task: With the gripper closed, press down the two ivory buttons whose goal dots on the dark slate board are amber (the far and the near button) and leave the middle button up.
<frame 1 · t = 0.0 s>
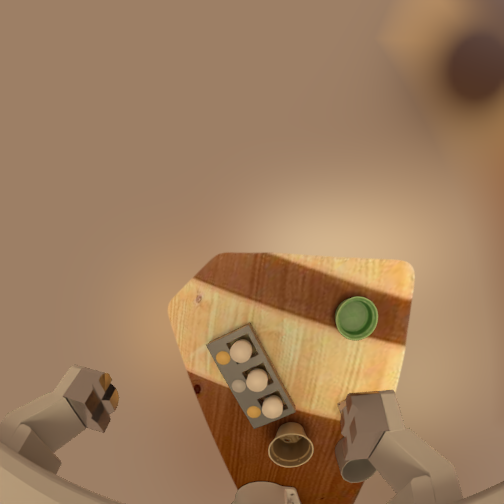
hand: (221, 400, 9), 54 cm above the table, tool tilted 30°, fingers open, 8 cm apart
flower pot: (290, 431, 60), on the table
button a: (272, 406, 57), point 4 cm above the table, slide at 0.0 cm
walkman: (348, 412, 59), on the table
cup: (351, 447, 58), on the table
ramekin: (352, 315, 61), on the table
board: (252, 376, 62), on the table
button c: (241, 350, 58), point 4 cm above the table, slide at 0.0 cm
button b: (257, 379, 57), point 4 cm above the table, slide at 0.0 cm
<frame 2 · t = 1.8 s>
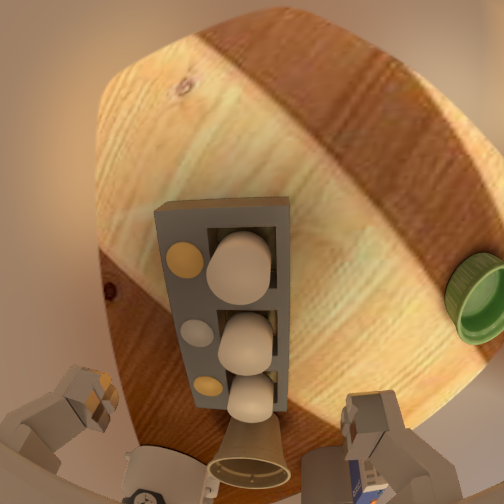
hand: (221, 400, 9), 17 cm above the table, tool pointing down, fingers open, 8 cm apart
flower pot: (254, 418, 35), on the table
button a: (251, 397, 27), point 4 cm above the table, slide at 0.0 cm
walkman: (358, 423, 34), on the table
cup: (327, 457, 38), on the table
ramekin: (472, 285, 25), on the table
board: (235, 314, 28), on the table
button c: (240, 266, 21), point 4 cm above the table, slide at 0.0 cm
button b: (246, 343, 24), point 4 cm above the table, slide at 0.0 cm
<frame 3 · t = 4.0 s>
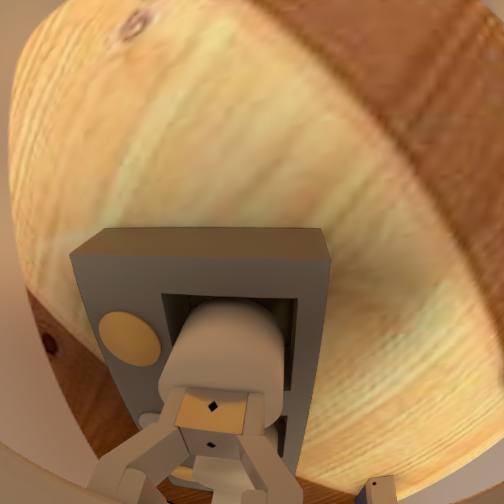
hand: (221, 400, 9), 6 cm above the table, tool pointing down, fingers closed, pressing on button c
button a: (243, 494, 16), point 4 cm above the table, slide at 0.0 cm
walkman: (371, 487, 24), on the table
board: (221, 396, 17), on the table
button c: (226, 368, 11), point 4 cm above the table, slide at 0.2 cm, touching gripper
button b: (237, 455, 13), point 4 cm above the table, slide at 0.0 cm
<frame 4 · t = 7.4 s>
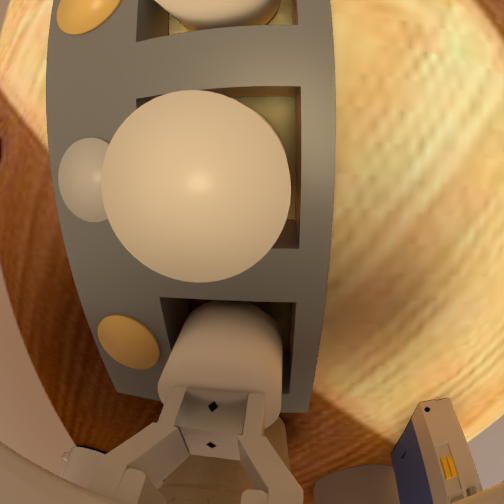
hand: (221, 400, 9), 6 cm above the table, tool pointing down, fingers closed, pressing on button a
flower pot: (239, 422, 19), on the table
button a: (225, 369, 11), point 4 cm above the table, slide at 0.3 cm, touching gripper
walkman: (417, 427, 18), on the table
cup: (354, 479, 22), on the table
board: (195, 160, 12), on the table
button b: (206, 177, 8), point 4 cm above the table, slide at 0.0 cm
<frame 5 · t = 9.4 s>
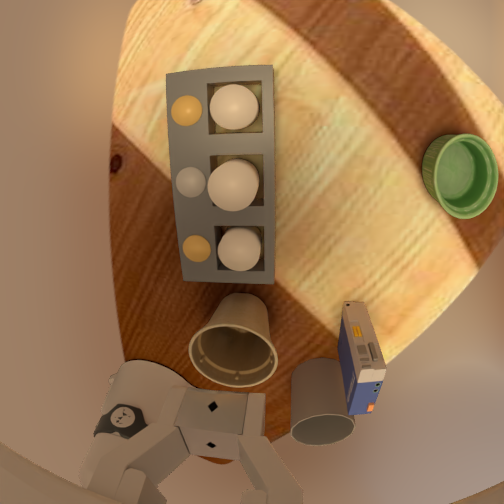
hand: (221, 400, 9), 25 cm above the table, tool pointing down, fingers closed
flower pot: (242, 310, 38), on the table
button a: (240, 245, 32), point 2 cm above the table, slide at 2.2 cm
walkman: (349, 325, 37), on the table
cup: (319, 376, 42), on the table
ramekin: (448, 168, 28), on the table
board: (226, 175, 31), on the table
button c: (236, 107, 26), point 2 cm above the table, slide at 2.2 cm
button b: (234, 183, 27), point 4 cm above the table, slide at 0.0 cm
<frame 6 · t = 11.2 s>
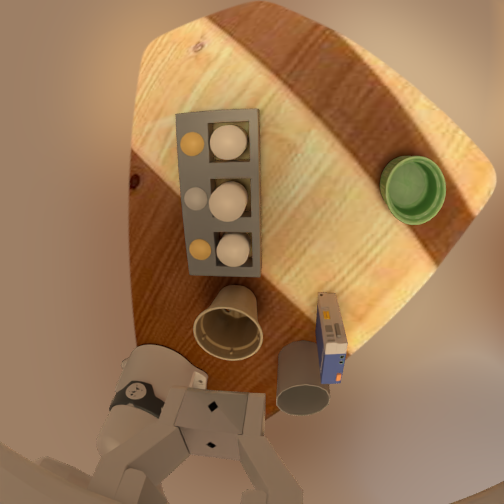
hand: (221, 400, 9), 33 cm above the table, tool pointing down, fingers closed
flower pot: (236, 300, 47), on the table
button a: (234, 247, 41), point 2 cm above the table, slide at 2.2 cm
walkman: (324, 312, 46), on the table
cup: (301, 357, 51), on the table
ramekin: (404, 183, 37), on the table
board: (223, 192, 40), on the table
button c: (229, 141, 35), point 2 cm above the table, slide at 2.2 cm
button b: (229, 200, 36), point 4 cm above the table, slide at 0.0 cm
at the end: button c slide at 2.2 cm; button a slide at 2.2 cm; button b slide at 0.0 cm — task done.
